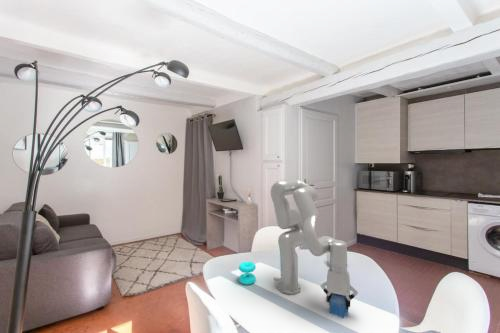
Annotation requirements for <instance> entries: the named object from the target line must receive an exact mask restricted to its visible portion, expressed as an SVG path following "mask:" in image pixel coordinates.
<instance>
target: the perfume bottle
mask: <svg viewBox="0 0 500 333" xmlns="http://www.w3.org/2000/svg"><path fill="white" fill-rule="evenodd" d="M348 312H349V308H348V309H347V297H346V296H344V295H339V294H333V295H332V297H331V299H330V305H329V314H331V313H332V314H331V315H334V316H336V315H337V317H339V318H342V319H344V318H345V317H346V316H347V313H348Z"/></svg>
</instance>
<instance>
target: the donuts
mask: <svg viewBox="0 0 500 333" xmlns="http://www.w3.org/2000/svg"><path fill="white" fill-rule="evenodd" d="M256 268H257V267H256V264H255V263H254V262H252V261H251V262H250V261H243V262H241V263H240V264H239V265H238V270H239V271H240V272H241V273H242V274H241V275H239V277H238V281H239V283H241V284H242V285H245V286H247V285H248V286H249V285H252V284H254V283H255V282H256V280H257V278H256V276H255V275H254V273H253V272H254V271H255V270H256Z"/></svg>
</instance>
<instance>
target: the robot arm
mask: <svg viewBox="0 0 500 333" xmlns="http://www.w3.org/2000/svg"><path fill="white" fill-rule="evenodd" d="M290 195H292V198H293V200H294V203H295V205H296V207H297V209H291V207H290V202H289V201H288V199H287V198H286V196H290ZM270 196H271V198H270V199H271V201H272V204H273V208H274V214H275V219H276V224H277V227H279V229H281V230H287V231H284V232H282V233H281V234H280V235H279V236H278V239H277V243H278V248H279V260H280V262H279V264H280V265H279V266H280V277H276V276H275V277H274V278H273V281H274V284H277V289H278V291H280V292H281V293H283V294H284V295H296V294H299V293H301V290H302V286H301V284H300V283H299V260H298V259H299V256H298V253H297V250H296V248H297V247H300V246H302V245H304V244H305V245H306V247H307V249H308V250H309V252H310V253H311V255H313V256H315V257H321V256H323V255H325V254H327V253H328V252H330V263H328V262H327V263H326V267H328V270H327V274H326V281H325V282H323V283H322V284H320V288H321V289H322V290H323V292H324V294H326V297H327V296H328V302H327V303H328V305H329V306H330V299H331V293H334V294H339V295H344V296H346V297H347V309H348V310H349V308H350V307H351V301H352V300H353V299H354V298H355V297H356V296H357V295H358V293H359V292H358V290H356V289H355V288H354V287H353V286H352V285H351V276H350V272H349V270H348V244H347V242H345V241H344V240H340V239H336V238H334V237H331V236H330V235H329V236H328V235H323V236H319V237H318V236H317V233H316V227H315V226H316V222H317V220H318V218H319V215H320V213H319V211H318V209H317V207H316V205H315V203H314V202H315V201H316V200H317V199H318V192H317V190H316V188H314V187H313V186H311V185H309V184H308V183H305V182H303V181H301V180H300V179H295V178H289V179H281V180H278V181H275V182H274V183H273V184H272V185H271V188H270ZM351 292H352V293H351Z"/></svg>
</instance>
